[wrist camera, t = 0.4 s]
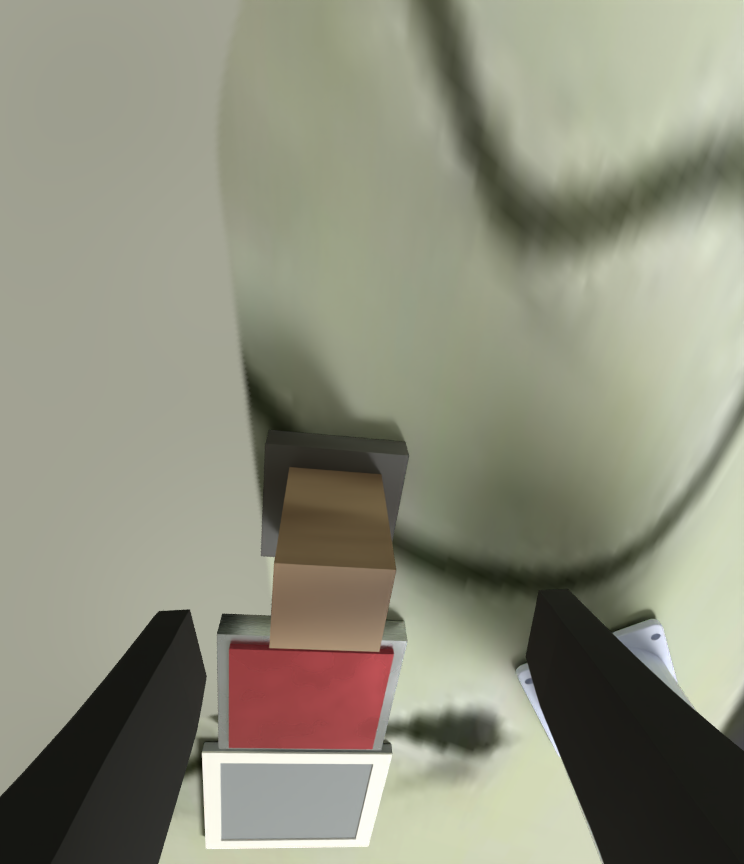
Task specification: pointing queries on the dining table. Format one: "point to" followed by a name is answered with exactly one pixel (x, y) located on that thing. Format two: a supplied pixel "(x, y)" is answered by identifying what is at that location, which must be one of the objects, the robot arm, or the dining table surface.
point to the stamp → (330, 537)
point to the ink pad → (303, 690)
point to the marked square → (291, 796)
